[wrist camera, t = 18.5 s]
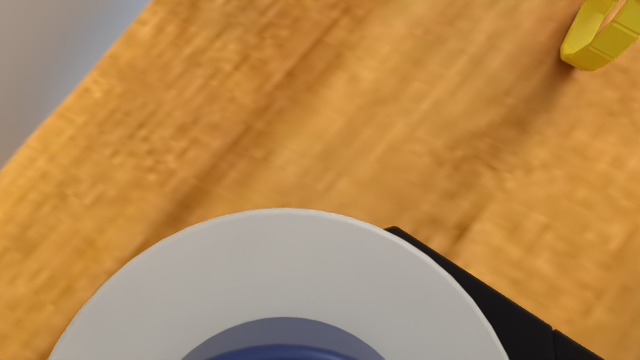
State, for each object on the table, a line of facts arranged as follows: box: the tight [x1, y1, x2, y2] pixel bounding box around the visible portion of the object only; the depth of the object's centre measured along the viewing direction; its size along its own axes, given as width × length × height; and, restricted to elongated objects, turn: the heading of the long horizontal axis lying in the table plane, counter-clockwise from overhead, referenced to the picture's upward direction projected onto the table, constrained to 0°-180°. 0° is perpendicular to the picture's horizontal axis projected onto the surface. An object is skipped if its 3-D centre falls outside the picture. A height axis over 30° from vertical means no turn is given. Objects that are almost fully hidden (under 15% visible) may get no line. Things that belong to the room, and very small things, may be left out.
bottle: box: [47, 207, 509, 360], centre depth 9 cm, size 5×5×12 cm
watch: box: [560, 0, 640, 71], centre depth 22 cm, size 6×3×6 cm, turn 152°
